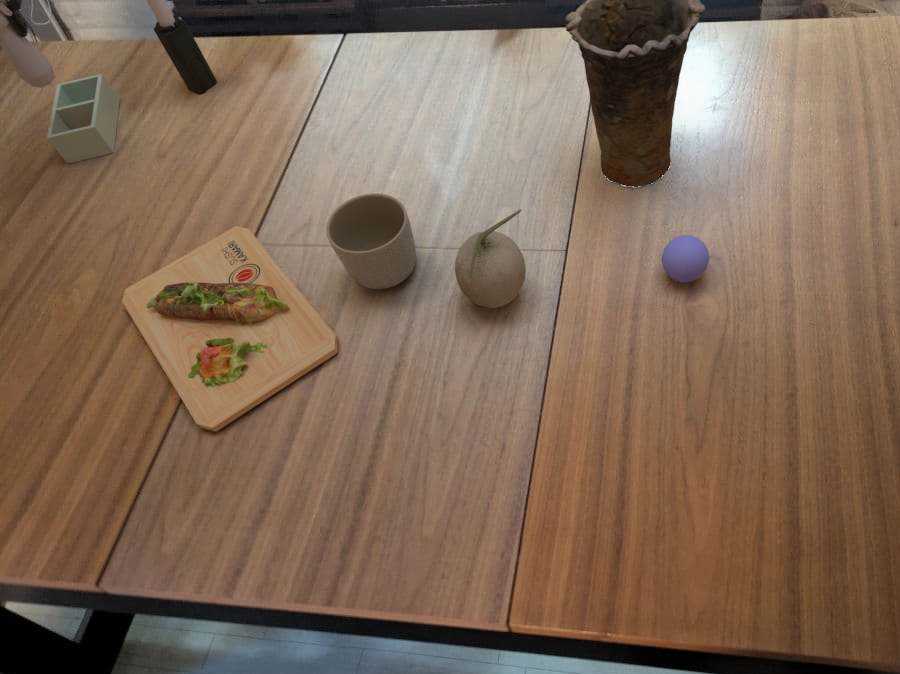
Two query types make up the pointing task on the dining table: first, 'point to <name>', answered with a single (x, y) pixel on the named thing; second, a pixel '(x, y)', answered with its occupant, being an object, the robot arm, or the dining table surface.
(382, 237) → the planter
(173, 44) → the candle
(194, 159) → the dining table surface
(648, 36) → the vase
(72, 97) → the box
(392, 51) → the dining table surface
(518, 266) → the fruit
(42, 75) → the salt shaker
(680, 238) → the sphere
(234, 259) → the cutting board
